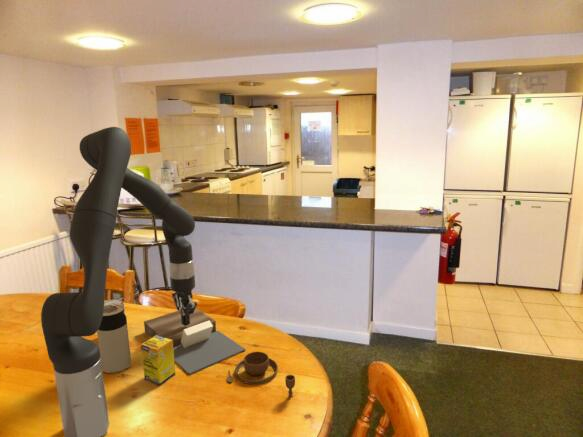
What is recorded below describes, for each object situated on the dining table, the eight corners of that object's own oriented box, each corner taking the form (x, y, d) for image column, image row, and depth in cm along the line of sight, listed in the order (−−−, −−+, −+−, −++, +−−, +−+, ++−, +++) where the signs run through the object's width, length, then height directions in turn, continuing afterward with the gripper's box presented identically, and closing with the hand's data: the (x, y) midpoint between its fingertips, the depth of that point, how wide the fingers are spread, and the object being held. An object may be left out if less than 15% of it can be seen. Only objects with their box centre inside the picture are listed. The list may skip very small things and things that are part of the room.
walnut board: (216, 331, 139) (215, 320, 138) (165, 351, 127) (164, 339, 126) (193, 316, 150) (192, 305, 150) (144, 332, 139) (143, 321, 138)
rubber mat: (245, 350, 127) (245, 349, 127) (189, 375, 115) (189, 373, 115) (218, 331, 139) (218, 330, 138) (164, 352, 126) (164, 350, 126)
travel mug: (108, 377, 114) (101, 317, 110) (97, 366, 120) (89, 308, 116) (136, 365, 120) (130, 308, 116) (124, 355, 125) (117, 300, 121)
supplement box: (144, 380, 113) (140, 344, 110) (160, 369, 118) (156, 334, 115) (160, 386, 110) (156, 349, 107) (175, 374, 115) (172, 339, 113)
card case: (205, 332, 135) (209, 338, 134) (180, 341, 129) (184, 348, 128) (209, 320, 132) (213, 326, 130) (183, 329, 126) (187, 335, 125)
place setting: (284, 358, 123) (283, 340, 122) (299, 400, 104) (299, 379, 103) (225, 365, 120) (224, 347, 119) (229, 411, 101) (228, 389, 100)
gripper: (161, 271, 132) (166, 321, 136) (181, 282, 123) (185, 335, 126) (183, 266, 137) (186, 314, 141) (203, 276, 128) (206, 327, 131)
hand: (186, 324), depth 134 cm, fingers closed
